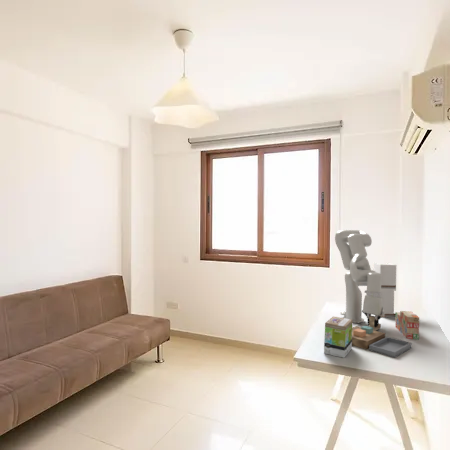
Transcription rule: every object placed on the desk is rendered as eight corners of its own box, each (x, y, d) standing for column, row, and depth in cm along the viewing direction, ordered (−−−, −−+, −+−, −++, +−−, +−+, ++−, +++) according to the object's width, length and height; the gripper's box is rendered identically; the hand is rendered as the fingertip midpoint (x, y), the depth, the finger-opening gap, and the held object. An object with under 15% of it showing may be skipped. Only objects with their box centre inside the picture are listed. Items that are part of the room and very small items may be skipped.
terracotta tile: (353, 334, 174) (353, 330, 174) (357, 333, 177) (357, 328, 177) (361, 337, 170) (361, 332, 170) (365, 335, 173) (366, 330, 173)
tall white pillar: (395, 317, 225) (396, 265, 225) (379, 316, 225) (380, 264, 225) (387, 312, 236) (388, 263, 236) (372, 312, 236) (373, 262, 236)
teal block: (360, 331, 179) (360, 327, 179) (364, 330, 182) (365, 325, 182) (369, 334, 176) (369, 329, 176) (373, 332, 179) (373, 327, 179)
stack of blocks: (395, 327, 203) (395, 306, 203) (406, 328, 201) (406, 307, 201) (406, 338, 182) (406, 316, 182) (419, 339, 180) (419, 317, 180)
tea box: (345, 358, 153) (346, 326, 153) (323, 353, 158) (323, 322, 158) (352, 348, 166) (352, 318, 166) (331, 344, 171) (332, 315, 171)
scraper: (363, 332, 189) (363, 318, 189) (376, 327, 199) (376, 313, 199) (368, 334, 187) (369, 319, 187) (381, 328, 197) (382, 314, 197)
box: (369, 350, 164) (369, 345, 164) (387, 341, 177) (387, 336, 177) (394, 357, 155) (394, 352, 155) (411, 347, 168) (411, 342, 168)
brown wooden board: (337, 340, 176) (337, 333, 176) (356, 333, 190) (356, 326, 190) (367, 349, 164) (367, 341, 164) (385, 340, 178) (385, 333, 178)
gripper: (356, 292, 196) (356, 323, 197) (385, 297, 184) (384, 331, 184) (363, 290, 201) (362, 321, 202) (391, 295, 189) (390, 328, 189)
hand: (372, 325), depth 193 cm, fingers closed on scraper, 3 cm apart
